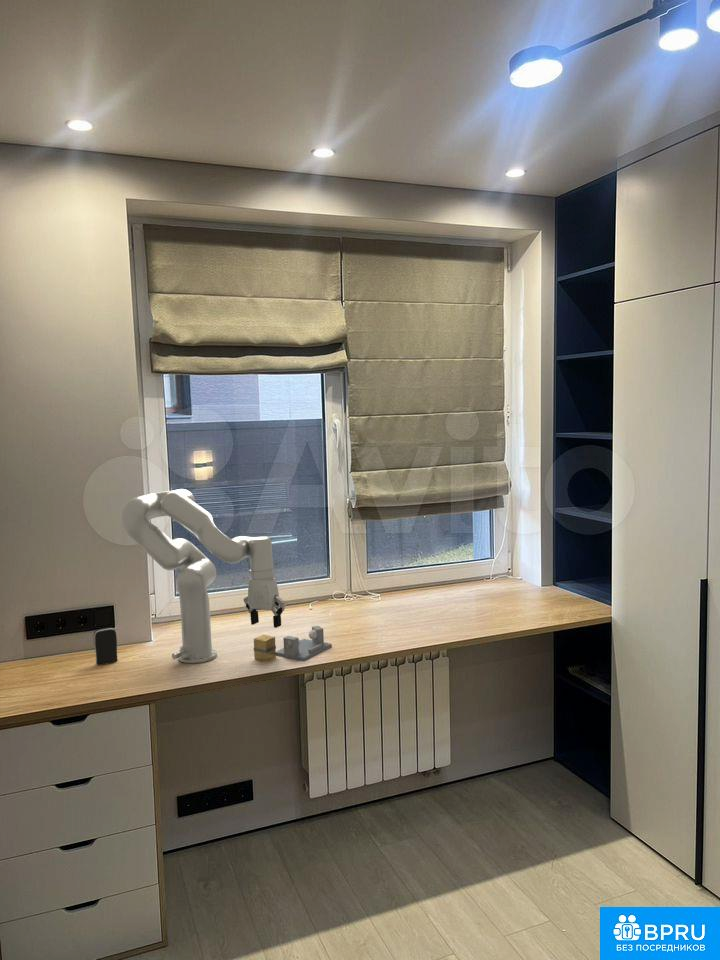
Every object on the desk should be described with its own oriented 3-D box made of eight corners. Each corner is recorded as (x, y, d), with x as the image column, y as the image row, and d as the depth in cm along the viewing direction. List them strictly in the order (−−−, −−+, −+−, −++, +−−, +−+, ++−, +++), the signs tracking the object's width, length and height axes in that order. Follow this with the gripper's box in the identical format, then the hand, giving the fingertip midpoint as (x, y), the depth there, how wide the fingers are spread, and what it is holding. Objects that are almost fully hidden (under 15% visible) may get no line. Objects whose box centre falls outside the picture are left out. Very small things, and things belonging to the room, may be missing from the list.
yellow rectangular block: (266, 662, 231) (265, 641, 231) (254, 659, 234) (253, 638, 234) (276, 657, 236) (275, 636, 235) (264, 654, 239) (263, 634, 238)
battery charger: (115, 658, 239) (113, 625, 238) (118, 661, 236) (116, 628, 235) (94, 663, 235) (91, 629, 234) (96, 666, 232) (94, 632, 231)
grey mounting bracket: (303, 660, 231) (303, 641, 231) (275, 655, 238) (274, 636, 237) (332, 646, 245) (331, 627, 245) (304, 641, 252) (304, 623, 251)
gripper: (234, 575, 234) (238, 625, 235) (275, 578, 225) (279, 631, 226) (250, 570, 240) (253, 619, 242) (290, 573, 231) (293, 624, 232)
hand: (266, 625), depth 234 cm, fingers open, 9 cm apart
